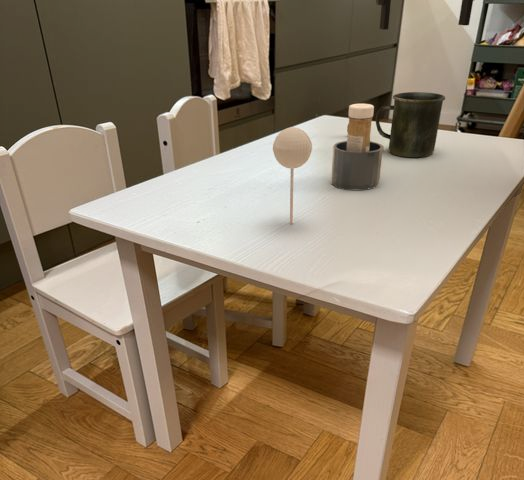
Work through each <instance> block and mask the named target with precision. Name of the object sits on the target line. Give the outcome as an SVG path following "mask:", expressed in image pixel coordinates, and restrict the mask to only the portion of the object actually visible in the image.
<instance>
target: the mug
mask: <svg viewBox="0 0 524 480" xmlns="http://www.w3.org/2000/svg"><path fill="white" fill-rule="evenodd" d="M392 99H393V100H394V101H393V105H383V106H381V107H380V108H379V109H378V110H377V112H376V114H375V125H376V129H377V133H378V134H379V135H380V136H381V137H382V138H385V139H386V140H387V139H388V140H389V142H388V151H389V153H391V154H392V155H394V156H399V157H404V158H423V157H428V156H431V155H432V154H434V152H435V149H436V143H437V136H438V131H439V125H440V120H441V112H442V108H443V102H444V101H445V100H446V96H445V95H444V94H440V93H435V92H425V91H418V92H417V91H409V92H399V93H396V94H394V95H393V96H392ZM385 111H392V117H391V118H392V119H391V127H390V134H389V133H386V132H385V131H384V130H383V129H382V127H381V123H380V114H381V113H382V112H385Z"/></svg>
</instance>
